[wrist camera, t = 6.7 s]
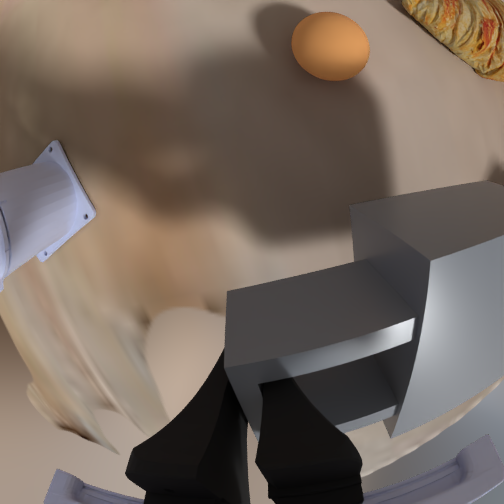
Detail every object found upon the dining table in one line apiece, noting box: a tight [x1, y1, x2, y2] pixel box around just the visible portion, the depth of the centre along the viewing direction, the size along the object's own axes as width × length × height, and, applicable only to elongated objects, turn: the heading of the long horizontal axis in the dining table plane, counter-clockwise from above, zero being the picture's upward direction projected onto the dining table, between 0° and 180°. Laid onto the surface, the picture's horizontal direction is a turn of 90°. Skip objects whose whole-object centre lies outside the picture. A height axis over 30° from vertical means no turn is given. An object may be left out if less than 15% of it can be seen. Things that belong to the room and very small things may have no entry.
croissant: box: [401, 0, 504, 82], centre depth 10 cm, size 21×10×8 cm, turn 95°
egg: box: [291, 12, 370, 81], centre depth 13 cm, size 5×5×5 cm
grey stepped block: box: [224, 180, 504, 442], centre depth 11 cm, size 16×10×6 cm, turn 102°
